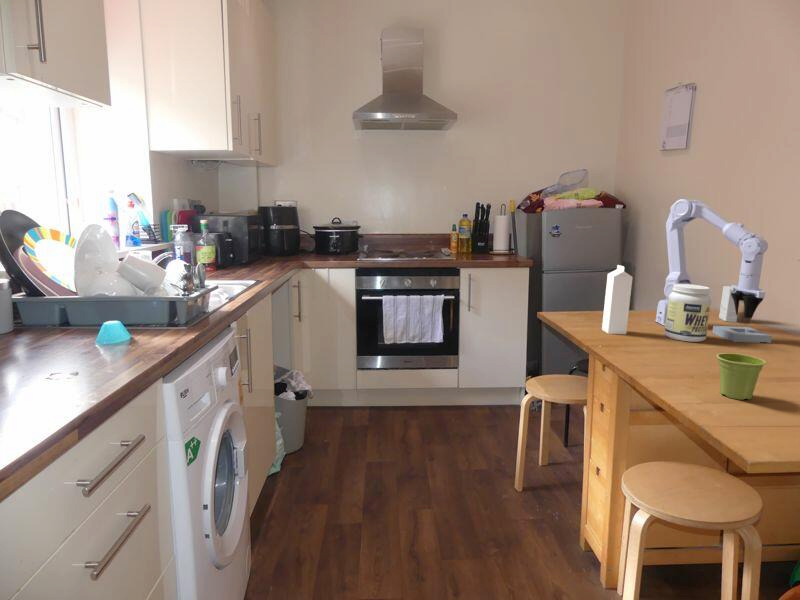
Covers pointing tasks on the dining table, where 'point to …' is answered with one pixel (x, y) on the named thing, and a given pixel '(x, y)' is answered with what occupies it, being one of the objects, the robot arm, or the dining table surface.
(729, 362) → the plant pot
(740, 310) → the dowel
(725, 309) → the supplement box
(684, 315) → the supplement tub
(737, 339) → the socket block
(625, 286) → the milk
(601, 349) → the dining table surface
